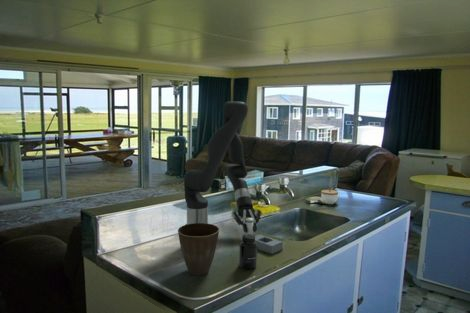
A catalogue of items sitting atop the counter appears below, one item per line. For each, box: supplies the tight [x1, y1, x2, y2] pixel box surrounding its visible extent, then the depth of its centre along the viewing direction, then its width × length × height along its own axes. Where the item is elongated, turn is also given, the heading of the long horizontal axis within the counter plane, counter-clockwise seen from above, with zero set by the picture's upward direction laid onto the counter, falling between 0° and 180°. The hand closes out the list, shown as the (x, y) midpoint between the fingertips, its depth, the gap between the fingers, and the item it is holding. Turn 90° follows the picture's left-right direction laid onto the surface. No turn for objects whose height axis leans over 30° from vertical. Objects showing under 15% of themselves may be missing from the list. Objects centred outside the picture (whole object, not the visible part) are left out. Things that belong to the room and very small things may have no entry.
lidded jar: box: [320, 188, 339, 205], centre depth 235 cm, size 11×11×9 cm
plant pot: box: [177, 223, 220, 276], centre depth 132 cm, size 15×15×16 cm
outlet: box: [254, 234, 283, 255], centre depth 156 cm, size 7×13×4 cm, turn 46°
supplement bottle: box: [238, 233, 258, 271], centre depth 137 cm, size 7×7×12 cm
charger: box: [245, 218, 254, 235], centre depth 167 cm, size 4×4×10 cm
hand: (250, 231), depth 165 cm, fingers closed on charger, 3 cm apart
